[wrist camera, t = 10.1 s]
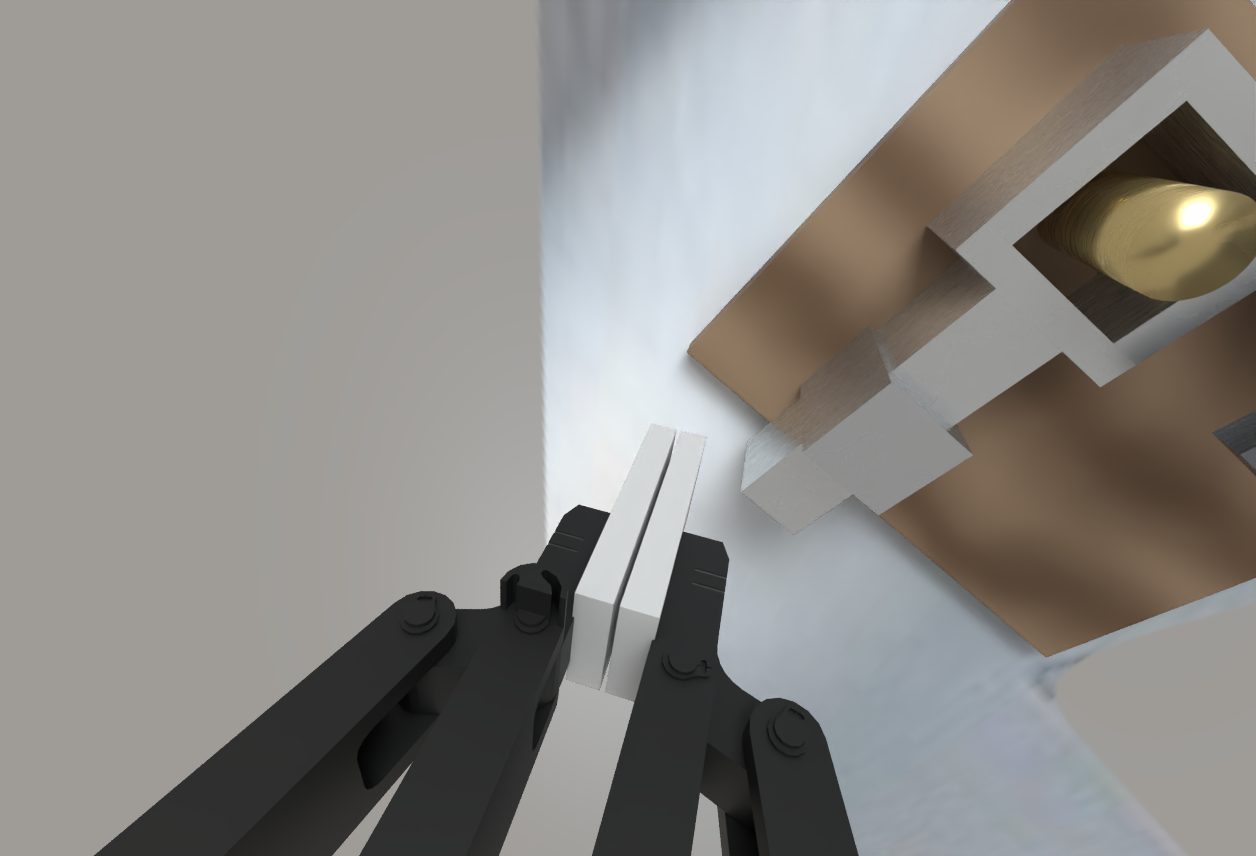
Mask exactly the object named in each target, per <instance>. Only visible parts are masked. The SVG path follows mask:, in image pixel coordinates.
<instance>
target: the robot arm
mask: <svg viewBox="0 0 1256 856" xmlns="http://www.w3.org/2000/svg"><path fill="white" fill-rule="evenodd" d="M675 435H676V430H675V429H671V428H667V427H663V426H659V425H654V424H651V425H650V427H649V429H648V431H647V434H646V436H645V438H644V440H643V443H642V445H641V447H640V449H639V451H638V454H637V456H636V458H635V460H634V463H633V465H632V467H631V469H630V471H629V474H628V476H627V478H626V480H625V482H624V485H623V487H622V489H621V491H620V494H619V496H618V498H617V500H616V502H615V505H614V507H613V509H612V511H611V513H608V512H604V511H600V510H597V509H593V508H589V507H586V506H582V505H578V506H576V507H575V508H573V509H572V510H571V511H569V512H568V513H566V514H565V515H564V516H563V518H562V519H561V521H560V523H559V525H558V527H557V528H556V530H555V533H554V534H553V535H552V537H551V539H550V541H549V543H548V545H547V546H546V548H545V550H544V551H543V553H542V555H541V557H540V558H539V560H538V562H537V563H531V564H525V565H520V566H518V567H516V568H514V569H512V570H510V571H508V572H507V573H506V574H505V576H504V577H503V578H502V579H501V580H500V589H501V590H500V592H501V593H500V595H501V596H500V598H501V599H500V601H501V606H498V607H494V608H489V609H455V606H454V603H453V602H452V601H451V600H450V599H449V598H448V597H447V596H446V595H443V594H440V593H437V592H434V591H420V592H416V593H413V594H409V595H406V596H405V597H403V598H402V599H400V600H398V601H397V602H395V603H394V604H393V605H391V606H390V607H389V608H388V609H387V610H386V611H384V612H383V613H382V614H381V615H380V616H378V617H377V618H376V619H375V620H374V621H373V622H371V623H370V624H369V625H368V626H367V627H365V628H364V629H363V630H362V631H361V632H359V633H358V634H357V635H356V636H355V637H354V638H352V639H351V640H350V641H349V642H347V643H346V644H345V645H344V646H343V647H342V648H340V649H339V650H338V651H337V652H336V653H334V654H333V655H332V656H331V657H330V658H328V659H327V660H326V661H325V662H324V663H322V664H321V665H320V666H319V667H318V668H317V669H315V670H314V671H313V672H312V673H311V674H309V675H308V676H307V677H306V678H305V679H304V680H302V681H301V682H300V683H299V684H298V685H296V686H295V687H294V688H293V689H292V690H290V691H289V692H288V693H287V694H286V695H285V696H283V697H282V698H281V699H280V700H279V701H277V702H276V703H275V704H274V705H273V706H271V707H270V708H269V709H268V710H267V711H265V712H264V713H263V714H262V715H261V716H260V717H258V718H257V719H256V720H255V721H254V722H253V723H251V724H250V725H249V726H248V727H246V728H245V729H244V730H243V731H242V732H240V733H239V734H238V735H237V736H236V737H234V738H233V739H232V740H231V741H230V742H229V743H227V744H226V745H225V746H224V747H223V748H221V749H220V750H219V751H218V752H217V753H216V754H214V755H213V756H212V757H211V758H210V759H208V760H207V761H206V762H205V763H204V764H202V765H201V766H200V767H199V768H198V769H196V770H195V771H194V772H193V773H192V774H191V775H189V776H188V777H187V778H186V779H185V780H183V781H182V782H181V783H180V784H179V785H177V786H176V787H175V788H174V789H173V790H171V791H170V792H169V793H168V794H167V795H166V796H164V797H163V798H162V799H161V800H160V801H158V802H157V803H156V804H155V805H154V806H152V807H151V808H150V809H149V810H148V811H147V812H145V813H144V814H143V815H142V816H141V817H139V818H138V819H137V820H136V821H135V822H133V823H132V824H131V825H130V826H129V827H127V828H126V829H125V830H124V831H123V832H122V833H120V834H119V835H118V836H117V837H116V838H114V839H113V840H112V841H111V842H110V843H108V844H107V845H106V846H105V847H104V848H102V850H100V851H99V852H98V853H97V854H95V855H94V856H332V855H333V854H334V853H335V852H336V850H337V849H338V848H339V847H340V846H341V845H342V843H343V842H344V841H345V840H346V839H347V838H348V836H349V835H350V834H351V833H352V832H353V831H354V829H355V828H356V827H357V826H358V825H359V824H360V822H361V821H362V820H363V819H364V818H365V816H366V815H367V814H368V813H369V812H370V811H371V810H372V809H373V807H374V806H375V805H376V804H377V803H378V801H379V800H380V799H381V798H382V797H383V796H384V794H385V793H386V792H387V791H388V790H389V789H390V788H391V786H392V785H393V784H394V783H395V782H396V781H397V779H398V778H399V777H400V776H401V775H402V773H403V772H404V771H405V770H406V769H407V768H408V766H409V765H410V764H411V763H412V762H413V763H412V764H411V766H410V768H409V770H408V771H407V773H406V775H405V777H404V778H403V780H402V782H401V784H400V785H399V787H398V789H397V791H396V793H395V794H394V796H393V798H392V799H391V801H390V803H389V805H388V806H387V808H386V810H385V812H384V814H383V815H382V817H381V819H380V820H379V822H378V824H377V826H376V827H375V829H374V831H373V833H372V834H371V836H370V838H369V840H368V842H367V843H366V845H365V847H364V848H363V850H362V852H361V854H360V855H359V856H499V854H500V851H501V849H502V846H503V843H504V841H505V838H506V836H507V833H508V830H509V828H510V825H511V823H512V820H513V817H514V815H515V812H516V810H517V807H518V804H519V802H520V799H521V797H522V794H523V791H524V789H525V786H526V784H527V781H528V778H529V776H530V773H531V771H532V768H533V765H534V763H535V760H536V758H537V755H538V752H539V750H540V747H541V745H542V742H543V739H544V736H545V734H546V732H547V729H548V726H549V724H550V721H551V719H552V716H553V713H554V711H555V708H556V706H557V700H558V694H559V687H560V685H561V682H562V680H563V677H564V675H565V672H566V670H567V674H566V679H567V680H569V681H573V682H576V683H579V684H582V685H585V686H588V687H591V688H594V689H597V690H600V688H601V684H602V682H603V679H604V675H605V673H606V669H607V667H608V664H609V661H610V658H611V661H610V667H609V672H608V679H607V685H606V690H605V692H606V693H610V694H612V695H616V696H618V697H622V698H625V699H628V700H631V701H634V706H633V710H632V713H631V717H630V720H629V724H628V727H627V731H626V735H625V738H624V742H623V745H622V749H621V753H620V756H619V760H618V763H617V767H616V771H615V774H614V778H613V781H612V785H611V789H610V792H609V796H608V800H607V803H606V807H605V810H604V814H603V818H602V822H601V825H600V829H599V832H598V836H597V839H596V843H595V847H594V850H593V854H592V856H691V851H692V844H693V837H694V830H695V823H696V815H697V809H698V802H699V795H700V793H702V794H703V795H704V796H705V797H707V798H708V799H709V800H711V801H712V802H713V803H714V804H716V805H717V808H718V817H719V827H720V838H721V847H722V856H858V852H857V848H856V845H855V841H854V838H853V834H852V830H851V827H850V823H849V820H848V816H847V813H846V809H845V805H844V802H843V798H842V795H841V791H840V788H839V784H838V780H837V777H836V773H835V770H834V766H833V762H832V759H831V755H830V752H829V748H828V745H827V741H826V738H825V736H824V734H823V731H822V729H821V727H820V725H819V723H818V722H817V721H816V720H815V719H814V717H813V716H812V715H811V714H810V713H809V712H808V711H807V710H806V709H804V708H803V707H801V706H800V705H798V704H797V703H795V702H793V701H789V700H786V699H782V698H773V699H766V700H764V701H763V702H760V701H759V700H757V699H756V698H754V697H753V696H751V695H750V694H748V693H747V692H745V691H744V690H742V689H741V688H740V687H738V686H737V685H736V684H735V683H733V682H732V681H731V679H730V678H729V677H728V676H727V675H726V674H725V672H724V670H723V668H722V666H721V665H720V662H719V658H718V655H717V644H718V637H719V629H720V622H721V615H722V608H723V601H724V592H725V586H726V578H727V572H728V564H729V558H728V555H727V553H726V550H725V547H724V545H723V542H719V541H716V540H712V539H708V538H705V537H701V536H697V535H693V534H690V533H686V532H684V528H685V524H686V521H687V517H688V513H689V509H690V505H691V500H692V496H693V492H694V488H695V484H696V480H697V475H698V471H699V467H700V463H701V459H702V455H703V450H704V446H705V442H706V438H707V437H704V436H700V435H696V434H692V433H687V432H683V431H680V434H679V437H678V440H677V443H676V446H675V449H674V452H673V454H672V450H673V445H674V440H675ZM671 455H672V457H671ZM611 654H612V655H611Z"/></svg>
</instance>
